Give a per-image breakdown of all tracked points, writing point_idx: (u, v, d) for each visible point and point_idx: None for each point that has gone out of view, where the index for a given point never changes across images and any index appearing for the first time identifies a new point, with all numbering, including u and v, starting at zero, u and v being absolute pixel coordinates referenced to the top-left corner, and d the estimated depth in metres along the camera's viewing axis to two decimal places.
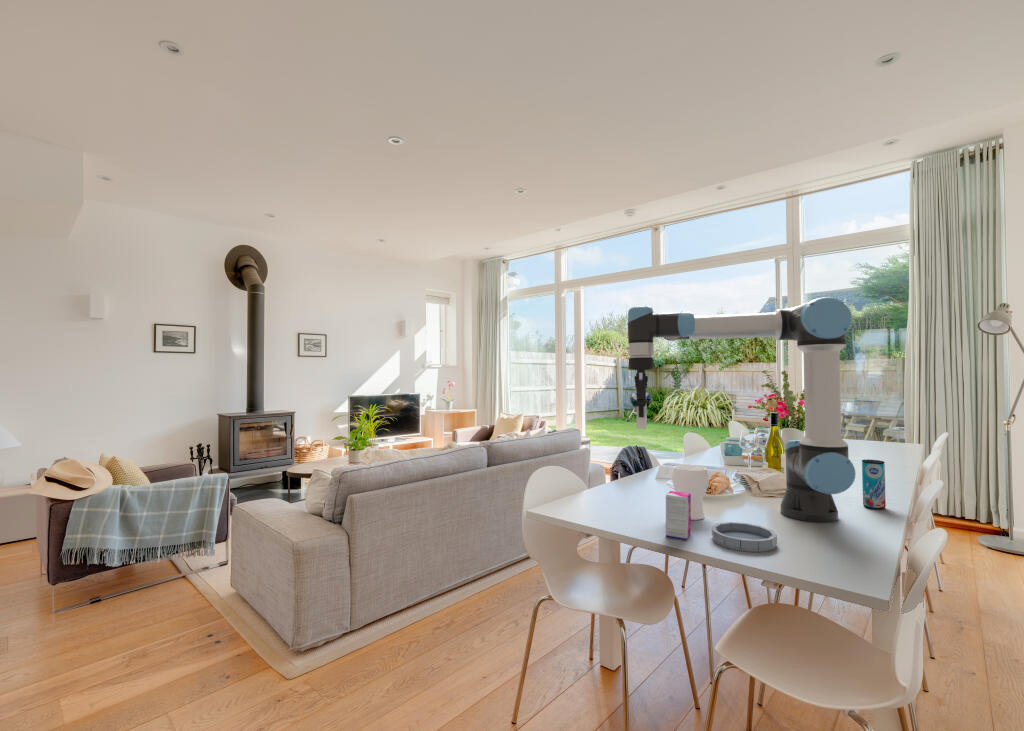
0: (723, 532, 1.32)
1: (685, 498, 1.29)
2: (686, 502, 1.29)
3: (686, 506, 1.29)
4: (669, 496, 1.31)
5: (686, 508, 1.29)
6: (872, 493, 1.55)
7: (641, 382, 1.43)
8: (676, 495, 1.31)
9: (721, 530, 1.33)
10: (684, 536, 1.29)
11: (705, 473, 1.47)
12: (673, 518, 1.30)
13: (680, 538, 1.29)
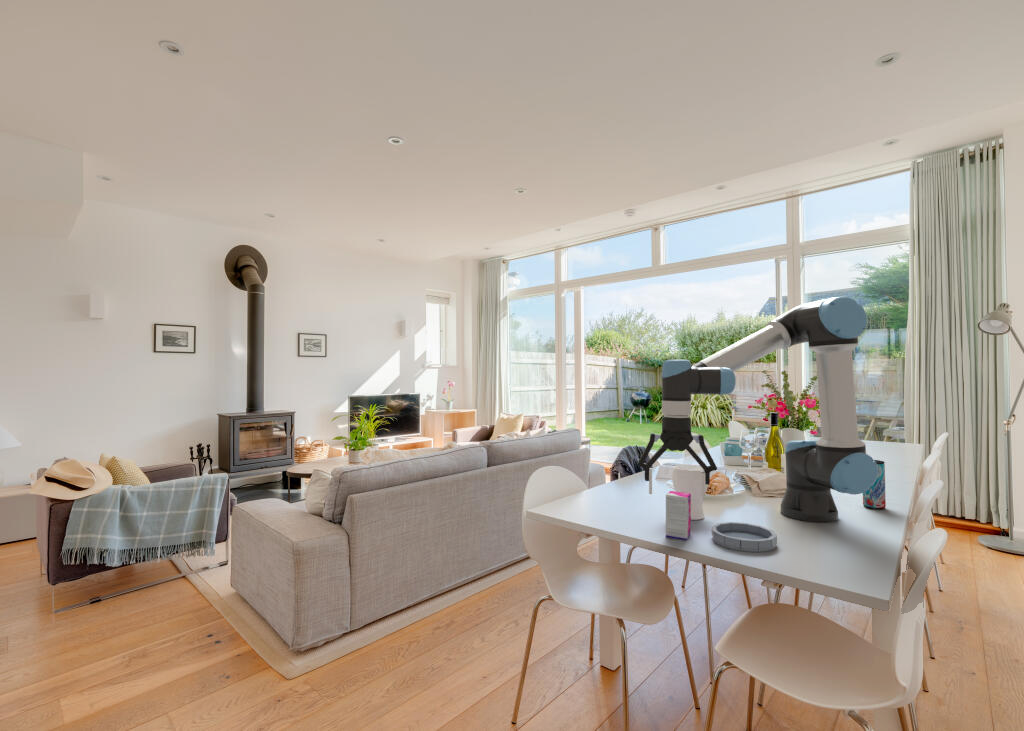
0: (723, 532, 1.32)
1: (685, 498, 1.29)
2: (686, 502, 1.29)
3: (686, 506, 1.29)
4: (669, 496, 1.31)
5: (686, 508, 1.29)
6: (872, 493, 1.55)
7: (648, 443, 1.34)
8: (676, 495, 1.31)
9: (721, 530, 1.33)
10: (684, 536, 1.29)
11: None
12: (673, 518, 1.30)
13: (680, 538, 1.29)
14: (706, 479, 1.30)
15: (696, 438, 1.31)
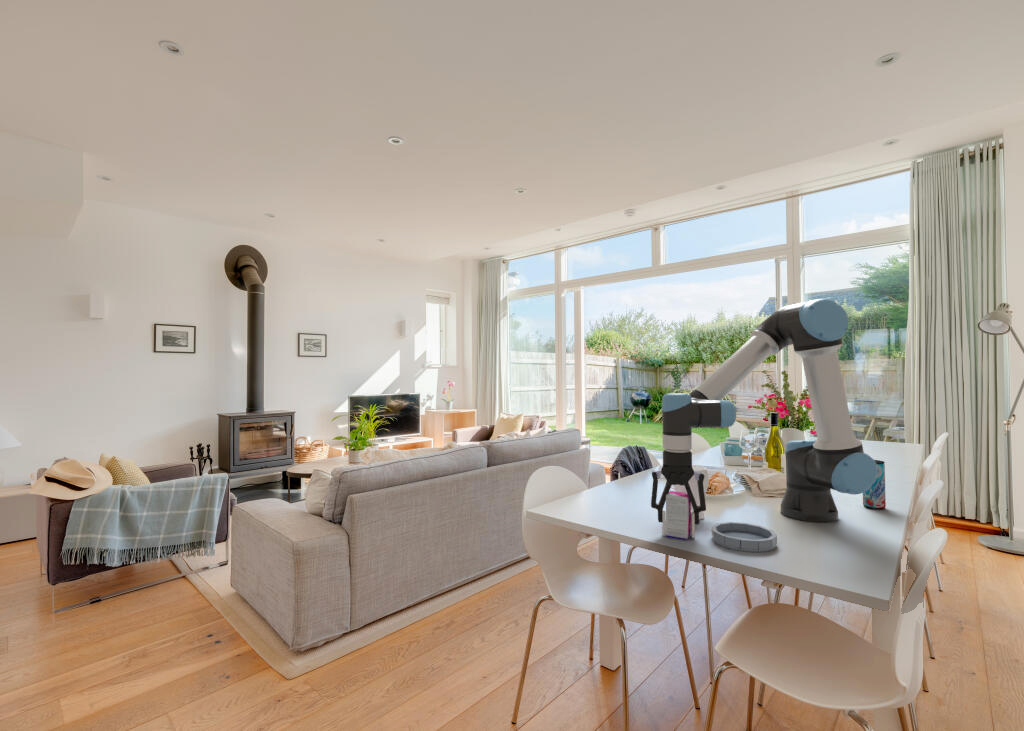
0: (723, 532, 1.32)
1: (685, 498, 1.29)
2: (686, 502, 1.29)
3: (686, 506, 1.29)
4: (669, 496, 1.31)
5: (686, 508, 1.29)
6: (872, 493, 1.55)
7: (653, 482, 1.34)
8: (676, 495, 1.31)
9: (721, 530, 1.33)
10: (684, 536, 1.29)
11: (705, 473, 1.47)
12: (673, 518, 1.30)
13: (680, 538, 1.29)
14: (695, 519, 1.30)
15: (697, 475, 1.31)
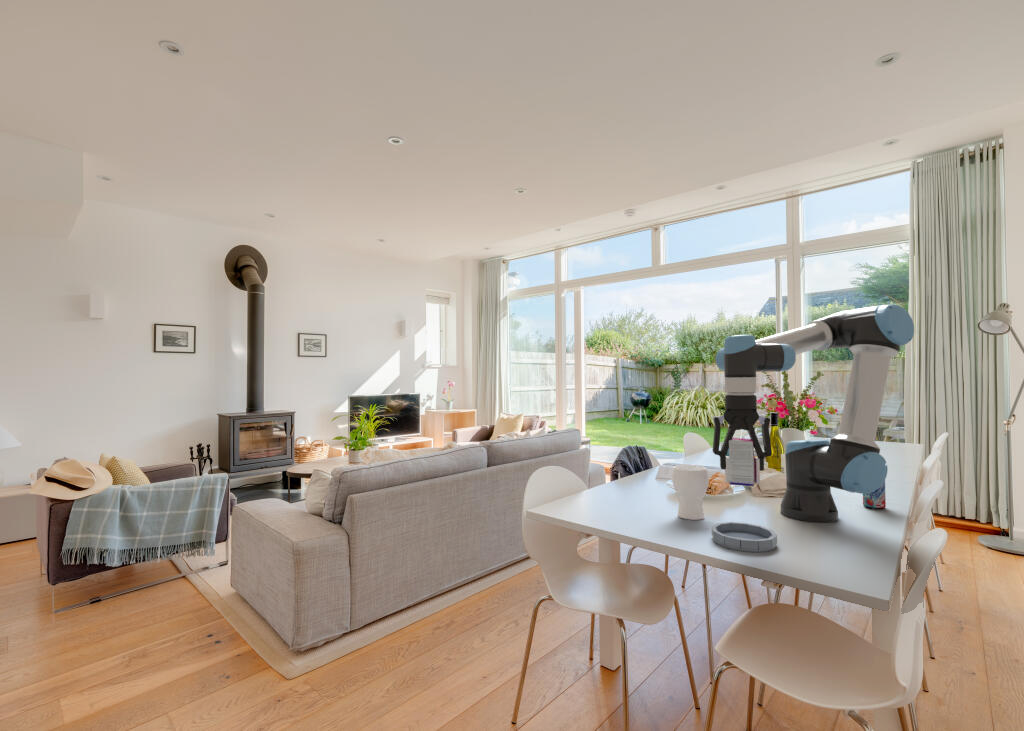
0: (723, 532, 1.32)
1: (750, 442, 1.24)
2: (751, 446, 1.24)
3: (751, 450, 1.24)
4: (732, 441, 1.26)
5: (751, 452, 1.24)
6: (872, 493, 1.55)
7: (715, 428, 1.29)
8: (740, 440, 1.26)
9: (721, 530, 1.33)
10: (750, 482, 1.24)
11: (705, 473, 1.47)
12: (737, 464, 1.25)
13: (746, 484, 1.24)
14: (760, 465, 1.26)
15: (762, 419, 1.26)
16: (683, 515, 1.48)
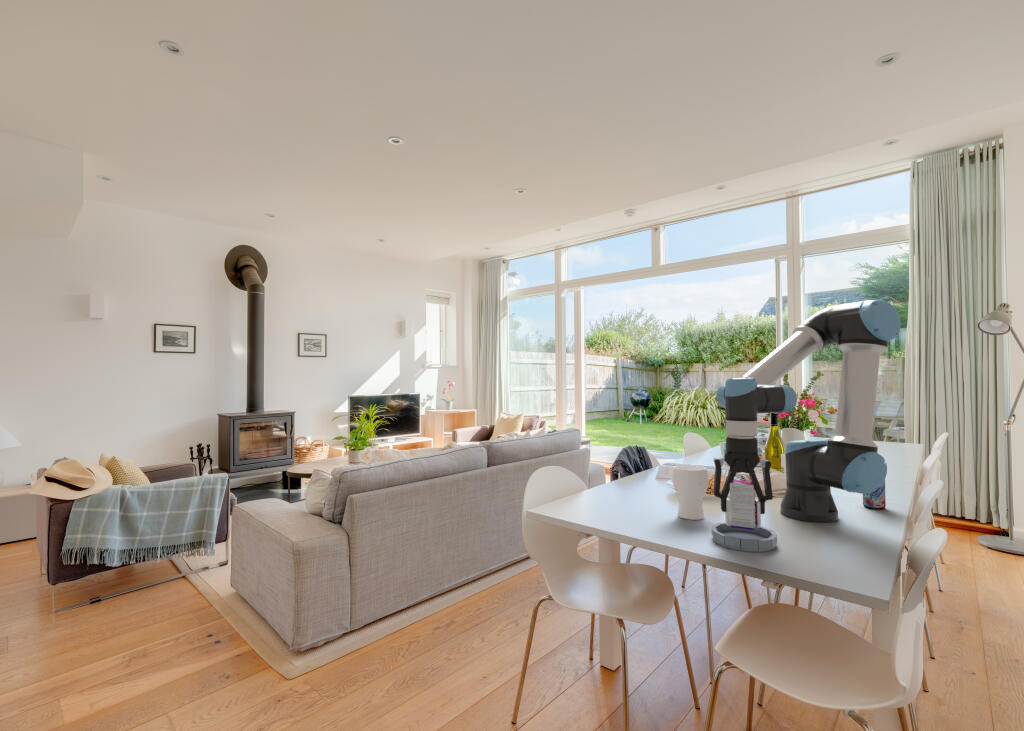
0: (723, 532, 1.32)
1: (751, 486, 1.24)
2: (752, 490, 1.24)
3: (752, 494, 1.24)
4: (733, 484, 1.26)
5: (752, 496, 1.24)
6: (872, 493, 1.55)
7: (715, 470, 1.29)
8: (740, 483, 1.26)
9: (721, 530, 1.33)
10: (750, 526, 1.24)
11: (705, 473, 1.47)
12: (738, 507, 1.25)
13: (747, 528, 1.24)
14: (761, 508, 1.25)
15: (763, 462, 1.26)
16: (683, 515, 1.48)
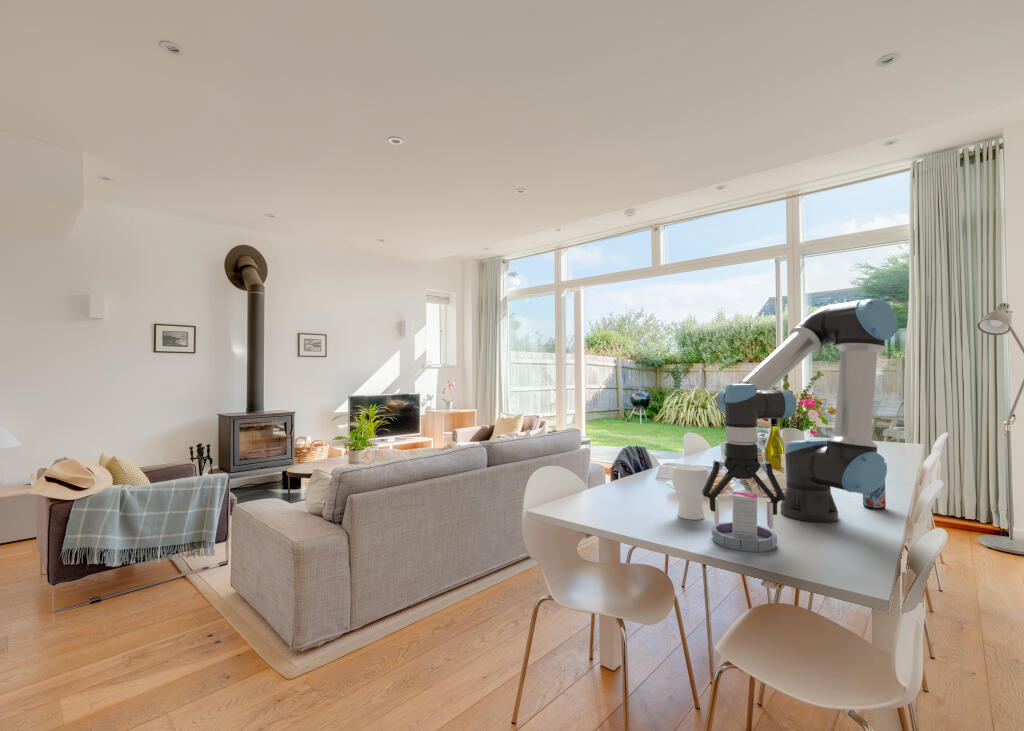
0: (723, 532, 1.32)
1: (755, 499, 1.24)
2: (756, 503, 1.24)
3: (756, 507, 1.24)
4: (737, 497, 1.25)
5: (756, 509, 1.24)
6: (872, 493, 1.55)
7: (712, 471, 1.29)
8: (744, 496, 1.26)
9: (721, 530, 1.33)
10: (753, 539, 1.24)
11: (705, 473, 1.47)
12: (741, 520, 1.25)
13: None
14: (773, 509, 1.25)
15: (763, 466, 1.26)
16: (683, 515, 1.48)
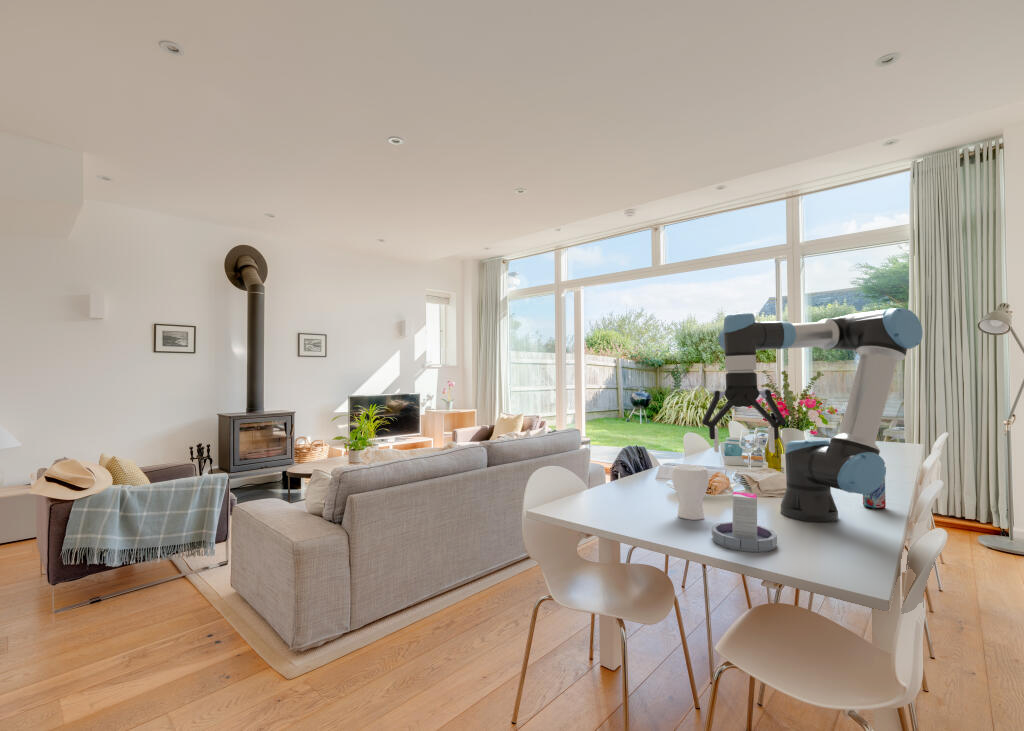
0: (723, 532, 1.32)
1: (755, 499, 1.24)
2: (756, 503, 1.24)
3: (756, 507, 1.24)
4: (737, 497, 1.25)
5: (756, 509, 1.24)
6: (872, 493, 1.55)
7: (712, 401, 1.31)
8: (744, 496, 1.26)
9: (721, 530, 1.33)
10: (753, 539, 1.24)
11: (705, 473, 1.47)
12: (741, 520, 1.25)
13: None
14: (775, 434, 1.27)
15: (763, 393, 1.28)
16: (683, 515, 1.48)
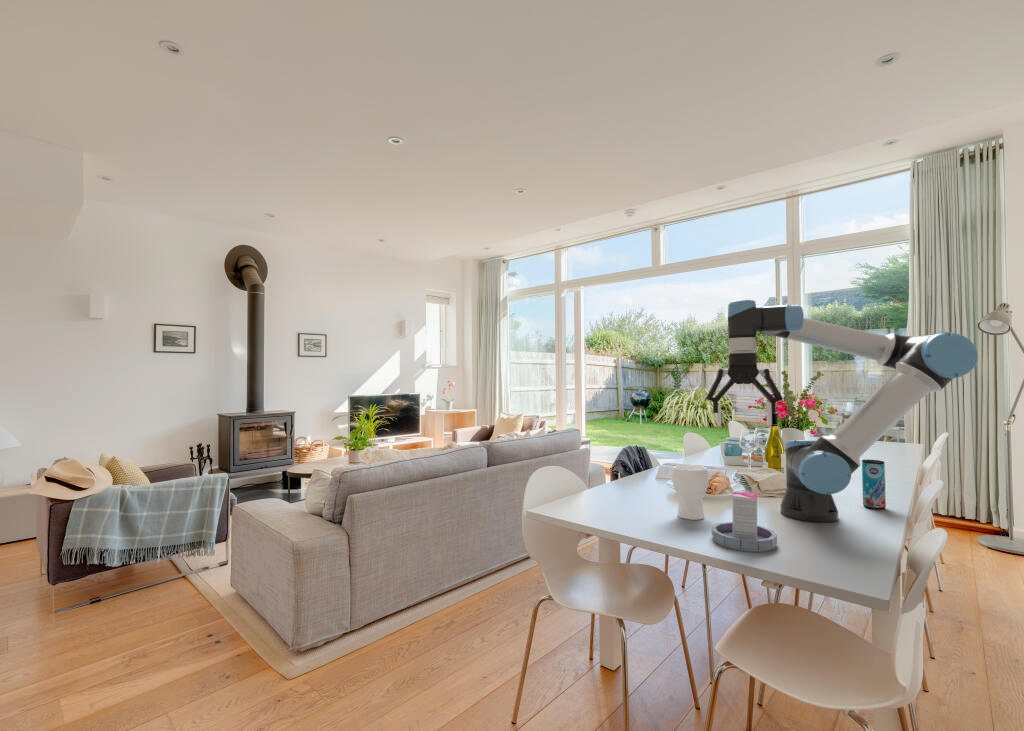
0: (723, 532, 1.32)
1: (755, 499, 1.24)
2: (756, 503, 1.24)
3: (756, 507, 1.24)
4: (737, 497, 1.25)
5: (756, 509, 1.24)
6: (872, 493, 1.55)
7: (716, 378, 1.46)
8: (744, 496, 1.26)
9: (721, 530, 1.33)
10: (753, 539, 1.24)
11: (705, 473, 1.47)
12: (741, 520, 1.25)
13: None
14: (772, 409, 1.42)
15: (762, 372, 1.43)
16: (683, 515, 1.48)
